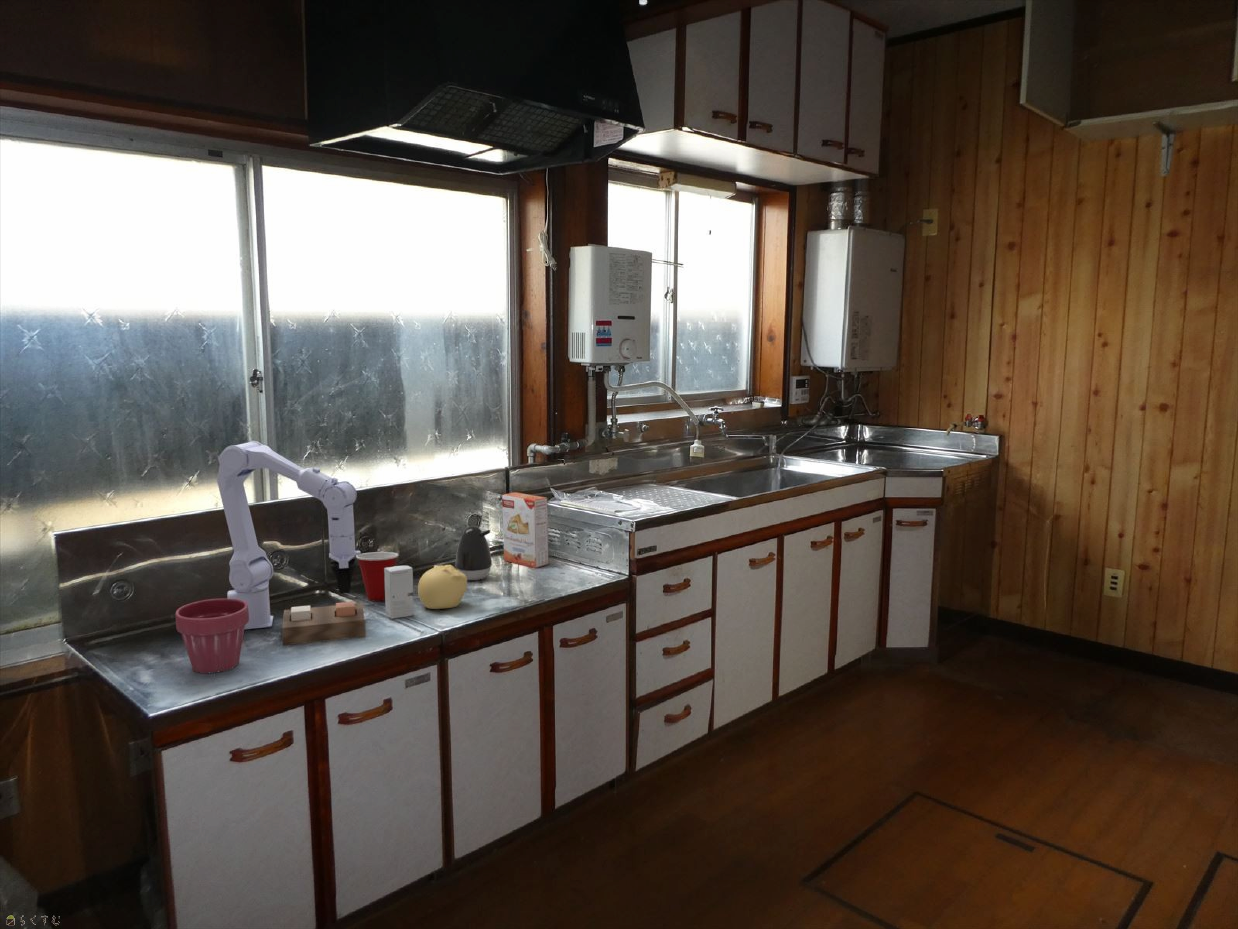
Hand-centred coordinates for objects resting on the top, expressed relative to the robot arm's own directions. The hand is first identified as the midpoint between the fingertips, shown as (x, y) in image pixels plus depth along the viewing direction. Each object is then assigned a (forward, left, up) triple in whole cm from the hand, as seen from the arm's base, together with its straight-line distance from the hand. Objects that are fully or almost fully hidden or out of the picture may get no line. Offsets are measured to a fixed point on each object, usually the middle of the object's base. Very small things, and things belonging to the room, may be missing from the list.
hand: (344, 590), depth 217 cm
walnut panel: (-5, 0, -9) cm, 11 cm away
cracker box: (+54, +47, -10) cm, 72 cm away
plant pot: (-27, -16, -10) cm, 33 cm away
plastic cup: (+9, +24, -10) cm, 27 cm away
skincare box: (+13, +7, -10) cm, 18 cm away
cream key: (-10, 0, -7) cm, 12 cm away
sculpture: (+24, +11, -10) cm, 28 cm away
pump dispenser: (+36, +35, -10) cm, 51 cm away
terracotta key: (0, 0, -7) cm, 7 cm away
